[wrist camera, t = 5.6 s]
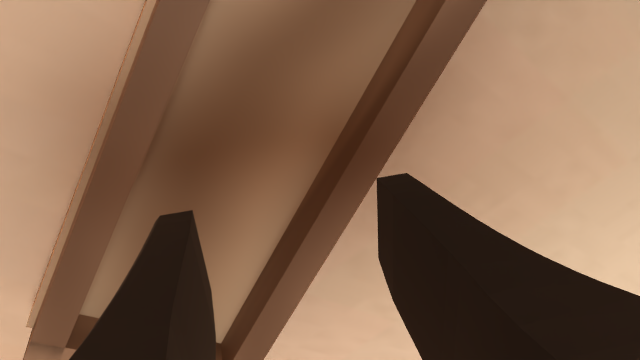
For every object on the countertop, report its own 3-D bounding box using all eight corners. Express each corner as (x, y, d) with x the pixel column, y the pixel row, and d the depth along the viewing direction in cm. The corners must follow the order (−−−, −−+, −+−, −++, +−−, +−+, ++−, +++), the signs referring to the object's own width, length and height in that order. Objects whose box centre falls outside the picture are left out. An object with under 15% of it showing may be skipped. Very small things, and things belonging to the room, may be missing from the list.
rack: (550, -184, 15) (611, -185, 13) (238, 347, 22) (243, 400, 20) (289, -390, 12) (312, -436, 10) (32, 305, 19) (14, 362, 17)
